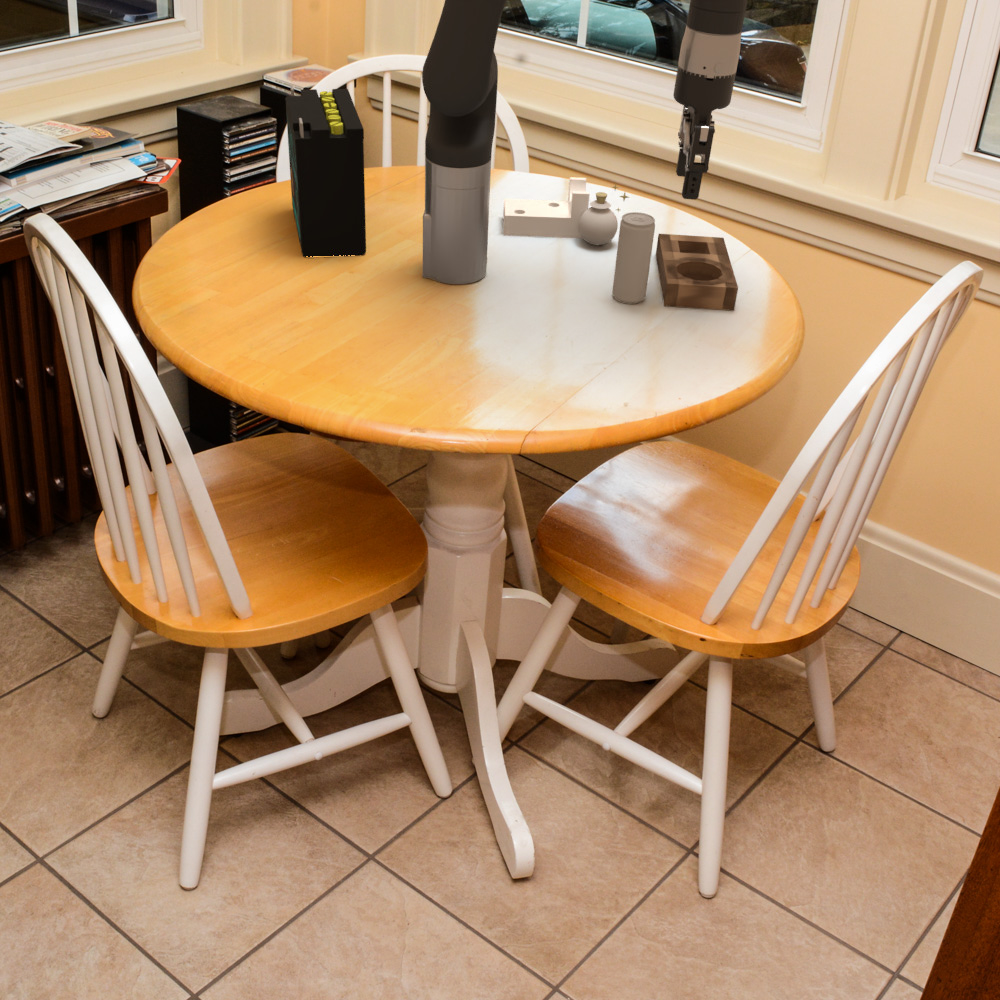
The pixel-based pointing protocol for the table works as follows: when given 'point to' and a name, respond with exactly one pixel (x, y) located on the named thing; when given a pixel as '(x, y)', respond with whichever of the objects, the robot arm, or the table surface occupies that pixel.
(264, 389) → the table surface
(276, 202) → the table surface
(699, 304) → the walnut bore block
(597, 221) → the round potion bottle
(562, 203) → the bracket
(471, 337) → the table surface
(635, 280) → the beverage can
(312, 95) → the battery
